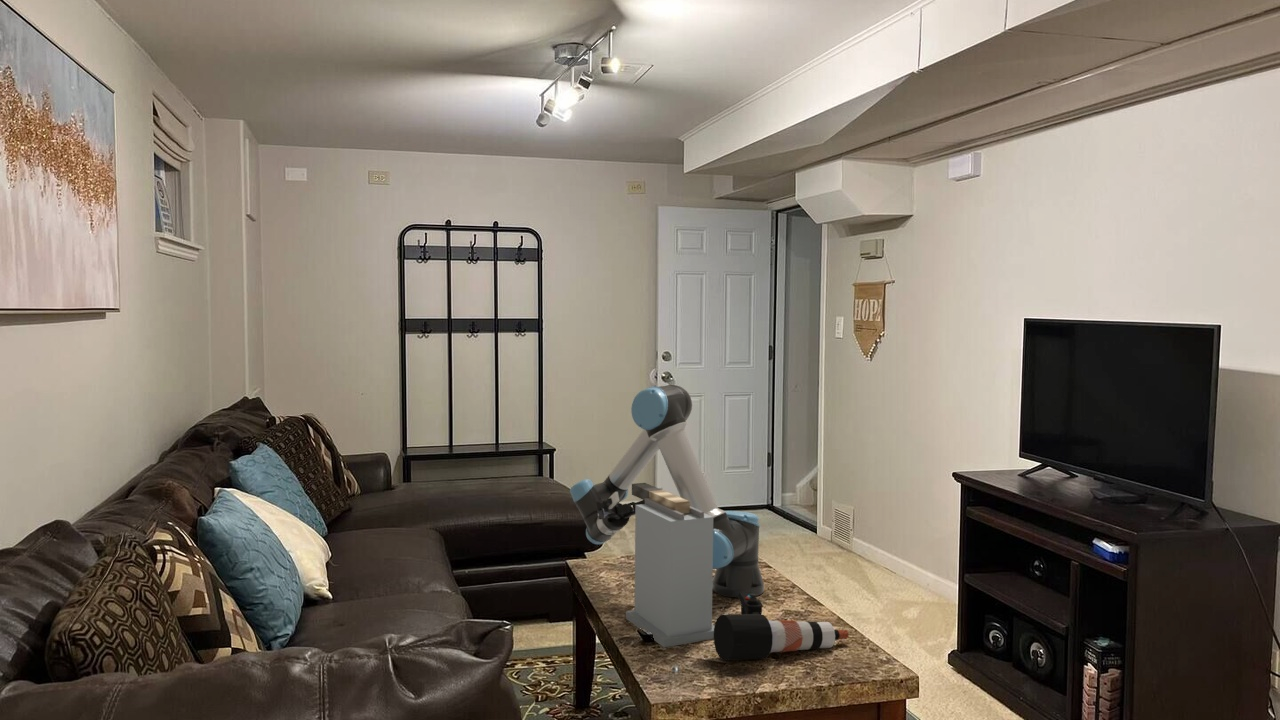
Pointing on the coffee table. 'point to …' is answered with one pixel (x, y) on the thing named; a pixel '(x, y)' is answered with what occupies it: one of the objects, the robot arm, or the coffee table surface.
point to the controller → (750, 603)
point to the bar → (661, 497)
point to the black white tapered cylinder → (769, 636)
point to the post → (673, 574)
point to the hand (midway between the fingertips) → (640, 494)
